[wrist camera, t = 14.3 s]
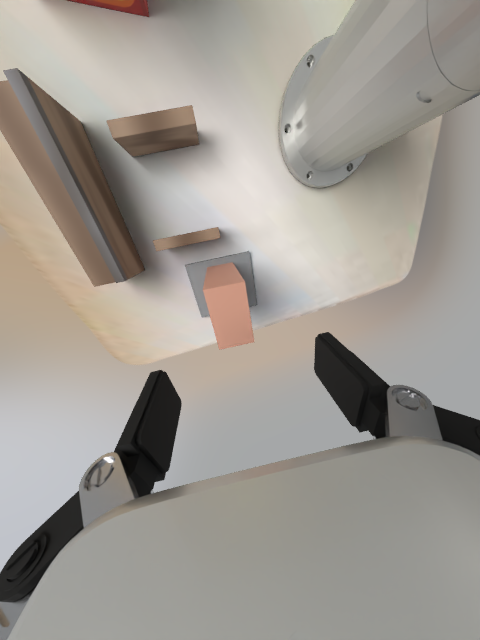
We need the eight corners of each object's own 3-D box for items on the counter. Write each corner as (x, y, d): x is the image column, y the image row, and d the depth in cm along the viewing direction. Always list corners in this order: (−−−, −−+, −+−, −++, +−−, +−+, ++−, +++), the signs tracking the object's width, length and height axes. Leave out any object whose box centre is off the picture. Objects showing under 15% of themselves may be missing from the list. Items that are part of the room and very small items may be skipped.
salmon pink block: (232, 262, 27) (244, 281, 16) (239, 303, 30) (254, 342, 19) (207, 267, 27) (202, 290, 16) (217, 308, 30) (219, 349, 19)
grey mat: (248, 251, 27) (249, 251, 26) (256, 303, 31) (257, 305, 31) (185, 264, 26) (185, 265, 26) (202, 316, 31) (201, 317, 30)
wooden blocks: (190, 101, 19) (179, 41, 13) (222, 253, 26) (225, 259, 20) (42, 128, 18) (-40, 77, 12) (118, 275, 26) (90, 288, 20)
